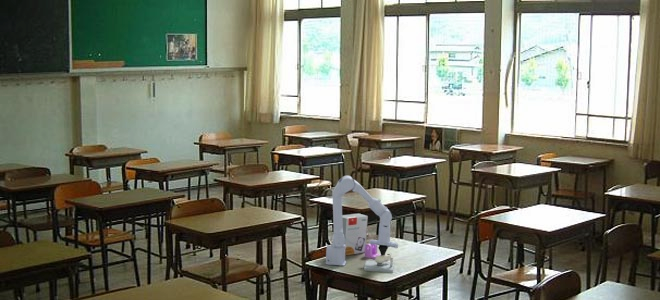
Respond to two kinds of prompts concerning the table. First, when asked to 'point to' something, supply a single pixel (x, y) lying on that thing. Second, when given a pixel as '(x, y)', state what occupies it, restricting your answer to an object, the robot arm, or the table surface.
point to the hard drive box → (354, 233)
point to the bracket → (371, 251)
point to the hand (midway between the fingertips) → (382, 260)
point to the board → (379, 266)
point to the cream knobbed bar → (382, 258)
